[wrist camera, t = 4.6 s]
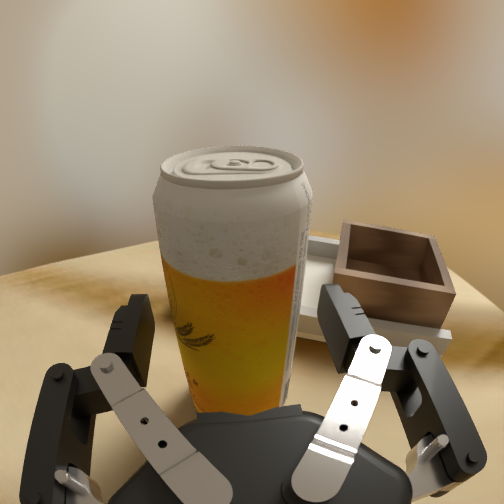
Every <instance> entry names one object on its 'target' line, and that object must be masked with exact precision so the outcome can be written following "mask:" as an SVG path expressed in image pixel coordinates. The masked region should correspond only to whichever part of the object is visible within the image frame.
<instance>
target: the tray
mask: <svg viewBox="0 0 504 504" xmlns="http://www.w3.org/2000/svg"><path fill="white" fill-rule="evenodd" d="M339 242H340V240H334V239H328V238H322V237H316V236H310V235H309V239H308V248H307V258H306V267H305V275H304V283H303V292H302V299H301V307H300V315H299V322H298V329H297V336H296V337H301V338H306V339H311V340H316V341H321V342H326V340H325V338H324V335H323V333H322V330H321V327H320V325H319V322H318V318H317V307H318V302H319V296H320V290H321V286H322V285H323V284H332V282H333V276H334V271H335V265H336V260H337V254H338V248H339ZM367 319H368V320H369V322H370V324H371V326H372V328H373V329H374V331H375V333H376V335H378V336H381V337H383V338H385V339H386V340H387V341H388V342H389V343H390V345H391V346H398V347H408V346H409V344H410V342H411V341H413V340H416V339H423V340H426V341H428V342H430V343H431V344H432V345H433V346H434V347H435V349H436V351H437V353H438V354H439V356H440V358H442V356H443V354H444V353H445V351H446V349H447V347H448V346H449V344H450V342H451V340H452V337H451V332H450V330H444V329H437V328H430V327H423V326H416V325H410V324H403V323H397V322H391V321H385V320H379V319H373V318H367Z"/></svg>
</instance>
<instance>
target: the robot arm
mask: <svg viewBox="0 0 504 504" xmlns="http://www.w3.org/2000/svg"><path fill="white" fill-rule="evenodd" d="M317 318H318V322H319V325H320V327H321V330H322V333H323V335H324V338H325V340H326V343H327V346H328V348H329V351H330V353H331V356H332V359H333V361H334V364H335V367H336V369H337V372H338V374H340V373H346V375H345V378H344V380H343V382H342V384H341V386H340V388H339V390H338V392H337V395H336V397H335V399H334V401H333V403H332V405H331V407H330V409H329V411H328V413H327V415H326V417H323V416H321V415H318V414H315V413H312V412H307V411H302V409H301V405H300V404H298V405H290V406H283V407H275V408H272V409H269V410H266V411H263V412H260V413H257V414H254V415H241V414H234V413H227V412H204V413H197V420H194V421H191V422H188V423H186V424H184V425H182V426H180V427H179V428H176V427H175V426H174V424H173V423H172V422H171V421H170V420H169V418H168V417H167V416H166V415H165V414H164V412H163V411H162V410H161V409H160V408H159V406H158V405H157V404H156V403H155V401H154V400H153V399H152V397H151V396H150V395H149V394H148V392H147V391H146V390H145V389H144V388H143V389H142V388H141V387H146V385H147V378H148V371H149V364H150V357H151V351H152V344H153V338H154V332H155V322H154V317H153V313H152V309H151V305H150V301H149V297H148V295H147V294H132V295H131V296H130V299H129V303H128V305H127V306H121V307H120V308H119V309H118V310H117V311H116V312H115V314H114V317H113V320H112V323H111V327H110V330H109V333H108V336H107V340H106V343H105V346H104V350H103V353H102V354H101V355H99V356H97V357H96V358H95V359H94V360H93V361H92V363H91V366H88V367H85V368H80V369H76V370H73V369H72V368H71V367H70V366H69V365H68V364H65V363H58V364H55V365H53V366H51V367H50V368H49V369H48V370H47V372H46V374H45V377H44V381H43V384H42V387H41V391H40V394H39V398H38V402H37V405H36V409H35V413H34V417H33V421H32V425H31V430H30V434H29V439H28V444H27V449H26V454H25V460H24V465H23V472H22V478H21V486H20V494H19V498H20V503H21V504H105V503H104V501H103V499H102V497H101V490H100V487H99V485H98V484H97V483H96V482H95V481H94V480H93V479H92V478H90V466H91V455H92V445H93V436H94V427H95V419H96V414H99V413H103V412H108V411H112V410H113V411H114V412H115V414H116V415H117V417H118V418H119V420H120V421H121V423H122V424H123V426H124V427H125V429H126V430H127V432H128V433H129V435H130V436H131V438H132V439H133V441H134V442H135V443H136V445H137V446H138V448H139V449H140V450H141V452H142V453H143V454H144V456H145V457H146V458H147V460H146V462H145V463H144V464H143V465H142V466H141V467H140V468H139V469H138V470H137V471H136V472H135V473H134V474H133V475H132V476H131V477H130V478H129V479H128V481H127V482H126V483H125V484H124V485H123V486H122V487H121V488H120V489H119V490H118V491H117V492H116V493H115V494H114V495H113V496H112V497H111V498H110V500H109V502H108V504H411V502H414V501H416V500H419V499H422V498H424V497H427V496H431V497H440V496H443V495H444V494H446V493H448V492H449V491H451V490H452V489H454V488H456V487H457V486H459V485H460V484H462V483H463V482H465V481H466V480H468V479H469V478H471V477H472V476H474V475H475V474H477V473H478V472H480V471H481V470H482V469H483V468H484V466H485V464H486V461H487V453H486V450H485V448H484V445H483V443H482V441H481V438H480V436H479V434H478V432H477V429H476V427H475V425H474V423H473V421H472V419H471V416H470V414H469V412H468V410H467V408H466V406H465V404H464V402H463V400H462V398H461V396H460V394H459V392H458V390H457V388H456V386H455V384H454V382H453V380H452V378H451V376H450V375H449V373H448V371H447V369H446V367H445V365H444V363H443V362H442V360H441V358H440V356H439V354H438V353H437V351H436V349H435V347H434V346H433V345H432V344H431V343H430V342H428V341H426V340H423V339H416V340H413V341H411V342H410V344H409V346H408V347H398V346H391V345H390V343H389V342H388V341H387V340H386V339H385V338H383V337H381V336H378V335H376V333H375V331H374V329H373V328H372V326H371V324H370V322H369V320H368V319H367V317H366V315H365V314H364V311H363V310H362V308H361V306H360V304H359V302H358V301H357V299H356V298H355V297H353V296H352V295H351V294H350V293H343V291H342V289H341V287H340V285H339V284H338V283H333V284H323V285H322V286H321V290H320V296H319V302H318V307H317ZM380 391H389V392H390V393H391V395H392V398H393V400H394V403H395V406H396V408H397V411H398V414H399V416H400V419H401V422H402V425H403V427H404V430H405V433H406V436H407V439H408V442H409V445H410V447H411V450H410V451H409V453H408V454H407V457H406V473H405V472H404V471H403V470H402V469H401V468H399V467H398V466H396V465H395V464H393V463H392V462H390V461H389V460H387V459H385V458H384V457H382V456H381V455H379V454H378V453H376V452H375V451H373V450H372V449H370V448H369V447H367V446H366V445H364V444H363V443H361V440H362V437H363V435H364V433H365V430H366V428H367V425H368V423H369V420H370V417H371V415H372V412H373V409H374V407H375V404H376V401H377V398H378V395H379V393H380Z"/></svg>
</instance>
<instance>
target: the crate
mask: <svg viewBox="0 0 504 504" xmlns="http://www.w3.org/2000/svg"><path fill="white" fill-rule="evenodd" d="M333 283H338V284H339V285H340V287H341V289H342V291H343V293H350V294H351V295H352V296H353V297H355V298H356V299H357V301H358V302H359V304H360V306H361V308H362V310H363V311H364V314H365V315H366V317H367V318H373V319H379V320H385V321H391V322H397V323H403V324H410V325H416V326H423V327H430V328H437V329H440V328H441V326H442V324H443V322H444V320H445V318H446V315H447V313H448V311H449V309H450V307H451V304H452V302H453V300H454V297H455V295H456V293H455V290H454V287H453V284H452V281H451V278H450V275H449V272H448V270H447V267H446V264H445V261H444V259H443V256H442V254H441V251H440V249H439V246H438V244H437V241H436V239H435V236H432V235H427V234H421V233H416V232H411V231H406V230H401V229H395V228H389V227H384V226H379V225H373V224H367V223H361V222H355V221H349V220H343V223H342V230H341V236H340V242H339V248H338V254H337V260H336V265H335V271H334V276H333V282H332V284H333Z"/></svg>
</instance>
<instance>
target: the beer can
mask: <svg viewBox="0 0 504 504" xmlns="http://www.w3.org/2000/svg"><path fill="white" fill-rule="evenodd" d="M303 168H304V163H303V160H302V159H300V158H299V157H298V156H296V155H293V154H291V153H288V152H285V151H281V150H277V149H271V148H265V147H255V146H220V147H210V148H203V149H196V150H191V151H187V152H183V153H180V154H177V155H175V156H172V157H170V158H168V159H167V160H165V161H164V162H163V163H162V164H161V166H160V170H161V174H160V177H159V180H158V182H157V185H156V188H155V191H154V194H153V205H154V213H155V220H156V227H157V233H158V240H159V247H160V253H161V259H162V265H163V271H164V276H165V282H166V287H167V292H168V298H169V303H170V308H171V312H172V317H173V322H174V327H175V331H176V336H177V340H178V345H179V349H180V353H181V357H182V361H183V365H184V370H185V374H186V377H187V381H188V385H189V389H190V393H191V396H192V400H193V403H194V406H195V408H196V410H197V411H198V412H199V413H204V412H227V413H234V414H241V415H254V414H257V413H260V412H263V411H266V410H269V409H272V408H275V407H283V406H284V405H285V402H286V399H287V393H288V387H289V381H290V375H291V369H292V363H293V356H294V350H295V343H296V336H297V329H298V322H299V315H300V307H301V299H302V292H303V283H304V275H305V267H306V258H307V248H308V239H309V229H310V218H311V208H312V196H313V193H312V190H311V187H310V185H309V182H308V180H307V177H306V175H305V172H304V170H303Z"/></svg>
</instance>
